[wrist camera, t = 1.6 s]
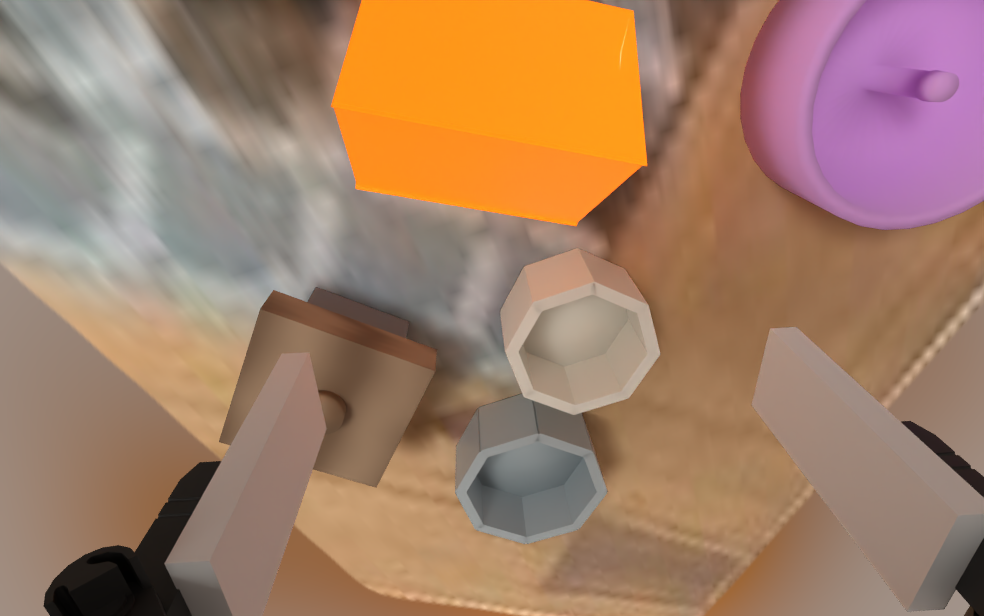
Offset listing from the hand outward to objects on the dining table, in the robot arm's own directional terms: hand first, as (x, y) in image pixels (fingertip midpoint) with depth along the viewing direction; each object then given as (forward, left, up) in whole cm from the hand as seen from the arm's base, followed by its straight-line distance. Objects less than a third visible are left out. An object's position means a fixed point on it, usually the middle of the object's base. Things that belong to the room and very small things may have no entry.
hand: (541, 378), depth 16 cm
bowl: (+9, -7, -22) cm, 25 cm away
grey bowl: (+12, -20, -22) cm, 32 cm away
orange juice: (-4, +5, -22) cm, 23 cm away
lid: (-5, -17, -18) cm, 25 cm away
